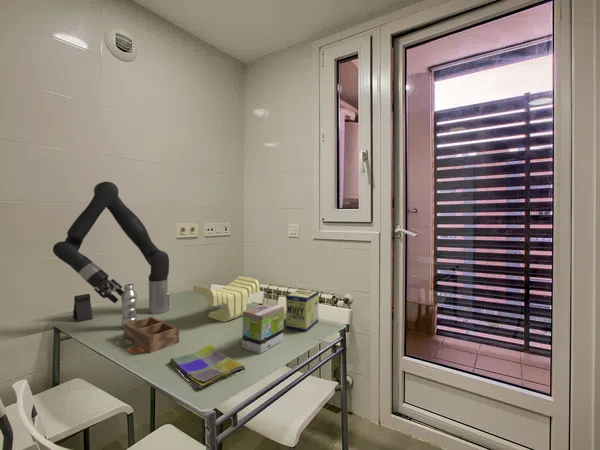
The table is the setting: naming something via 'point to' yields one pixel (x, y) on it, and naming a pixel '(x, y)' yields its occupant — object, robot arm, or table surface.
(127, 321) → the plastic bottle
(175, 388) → the table surface
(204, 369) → the dish towel
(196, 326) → the table surface
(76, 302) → the black coffee bag
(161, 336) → the box
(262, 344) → the tea box
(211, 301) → the slatted curved stool
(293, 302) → the protein box
